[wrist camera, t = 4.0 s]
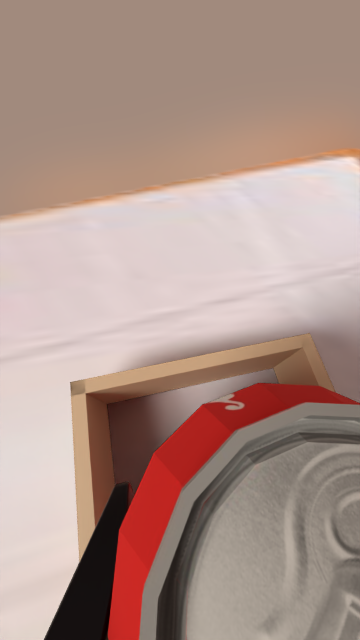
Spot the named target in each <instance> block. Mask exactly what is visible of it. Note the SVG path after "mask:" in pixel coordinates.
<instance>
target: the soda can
mask: <svg viewBox="0 0 360 640" xmlns="http://www.w3.org/2000/svg"><path fill="white" fill-rule="evenodd" d="M108 639H109V640H360V403H358V402H356V401H354V400H351V399H349V398H347V397H344V396H342V395H340V394H337V393H335V392H333V391H331V390H328V389H326V388H324V387H321V386H315V385H293V384H271V383H257V384H255V385H252V386H249V387H247V388H244V389H242V390H239V391H237V392H234V393H231V394H229V395H226V396H224V397H221V398H218V399H216V400H213V401H211V402H208V403H206V404H203V405H201V406H200V407H199V408H198V409H197V410H196V411H195V412H194V413H193V414H192V415H191V416H190V417H189V418H188V419H187V420H186V421H185V422H184V423H183V424H182V425H181V426H180V427H179V428H178V429H177V430H176V431H175V432H174V433H173V434H172V435H171V436H170V437H169V438H168V439H167V440H166V441H165V442H164V443H163V444H162V445H161V446H160V447H159V448H158V449H157V450H156V451H155V452H154V453H153V456H152V458H151V460H150V462H149V465H148V467H147V469H146V471H145V473H144V476H143V478H142V480H141V482H140V485H139V487H138V489H137V491H136V493H135V496H134V498H133V500H132V502H131V505H130V507H129V509H128V511H127V513H126V516H125V518H124V520H123V522H122V524H121V527H120V529H119V536H118V545H117V555H116V564H115V573H114V582H113V592H112V601H111V610H110V619H109V629H108Z"/></svg>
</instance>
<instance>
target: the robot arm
mask: <svg viewBox="0 0 360 640" xmlns="http://www.w3.org/2000/svg"><path fill="white" fill-rule="evenodd" d="M133 498H134V494H133V491H132V488H131V484H130V483H129V482H123V483H119V484H116V485H115V486H114V488H113V490H112V492H111V495H110V497H109V499H108V501H107V503H106V505H105V508H104V510H103V512H102V514H101V516H100V518H99V521H98V523H97V525H96V527H95V529H94V532H93V534H92V536H91V538H90V540H89V542H88V545H87V547H86V549H85V551H84V553H83V556H82V558H81V560H80V562H79V564H78V566H77V569H76V571H75V573H74V575H73V577H72V579H71V582H70V584H69V586H68V588H67V590H66V593H65V595H64V597H63V599H62V601H61V603H60V606H59V608H58V610H57V612H56V614H55V616H54V619H53V621H52V623H51V625H50V627H49V630H48V632H47V634H46V636H45V638H44V640H109V639H108V629H109V619H110V610H111V601H112V592H113V582H114V573H115V564H116V555H117V545H118V536H119V529H120V527H121V524H122V522H123V520H124V518H125V516H126V513H127V511H128V509H129V507H130V505H131V502H132V500H133Z"/></svg>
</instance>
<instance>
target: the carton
mask: <svg viewBox="0 0 360 640" xmlns="http://www.w3.org/2000/svg"><path fill="white" fill-rule="evenodd" d="M271 368H273V369H274V371H275V374H276V377H277V380H278V382H279V384H293V385H315V386H321V387H324V388H326V389H328V390H331V391H333V392H335V390H334V387H333V385H332V383H331V381H330V378H329V376H328V374H327V371H326V369H325V367H324V365H323V362H322V360H321V358H320V356H319V353H318V351H317V349H316V347H315V344H314V342H313V340H312V337H311V335H310V333H308V334H303V335H298V336H293V337H288V338H284V339H279V340H274V341H269V342H264V343H259V344H254V345H249V346H245V347H240V348H235V349H230V350H225V351H220V352H215V353H210V354H206V355H201V356H196V357H191V358H186V359H181V360H176V361H171V362H167V363H162V364H157V365H152V366H147V367H142V368H137V369H132V370H128V371H123V372H118V373H113V374H108V375H103V376H98V377H93V378H89V379H84V380H79V381H74V382H70V385H71V404H72V424H73V444H74V464H75V484H76V504H77V524H78V543H79V562H80V560H81V558H82V556H83V553H84V551H85V549H86V547H87V545H88V542H89V540H90V538H91V536H92V534H93V532H94V529H95V527H96V525H97V523H98V521H99V518H100V516H101V514H102V512H103V510H104V508H105V505H106V503H107V501H108V499H109V497H110V495H111V492H112V490H113V488H114V486H115V479H114V469H113V459H112V449H111V440H110V430H109V420H108V410H107V404H109V403H114V402H118V401H123V400H128V399H132V398H137V397H141V396H146V395H151V394H155V393H160V392H164V391H169V390H174V389H178V388H183V387H188V386H192V385H197V384H201V383H206V382H211V381H215V380H220V379H224V378H229V377H234V376H238V375H243V374H248V373H252V372H257V371H261V370H266V369H271ZM335 393H336V392H335Z"/></svg>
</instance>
